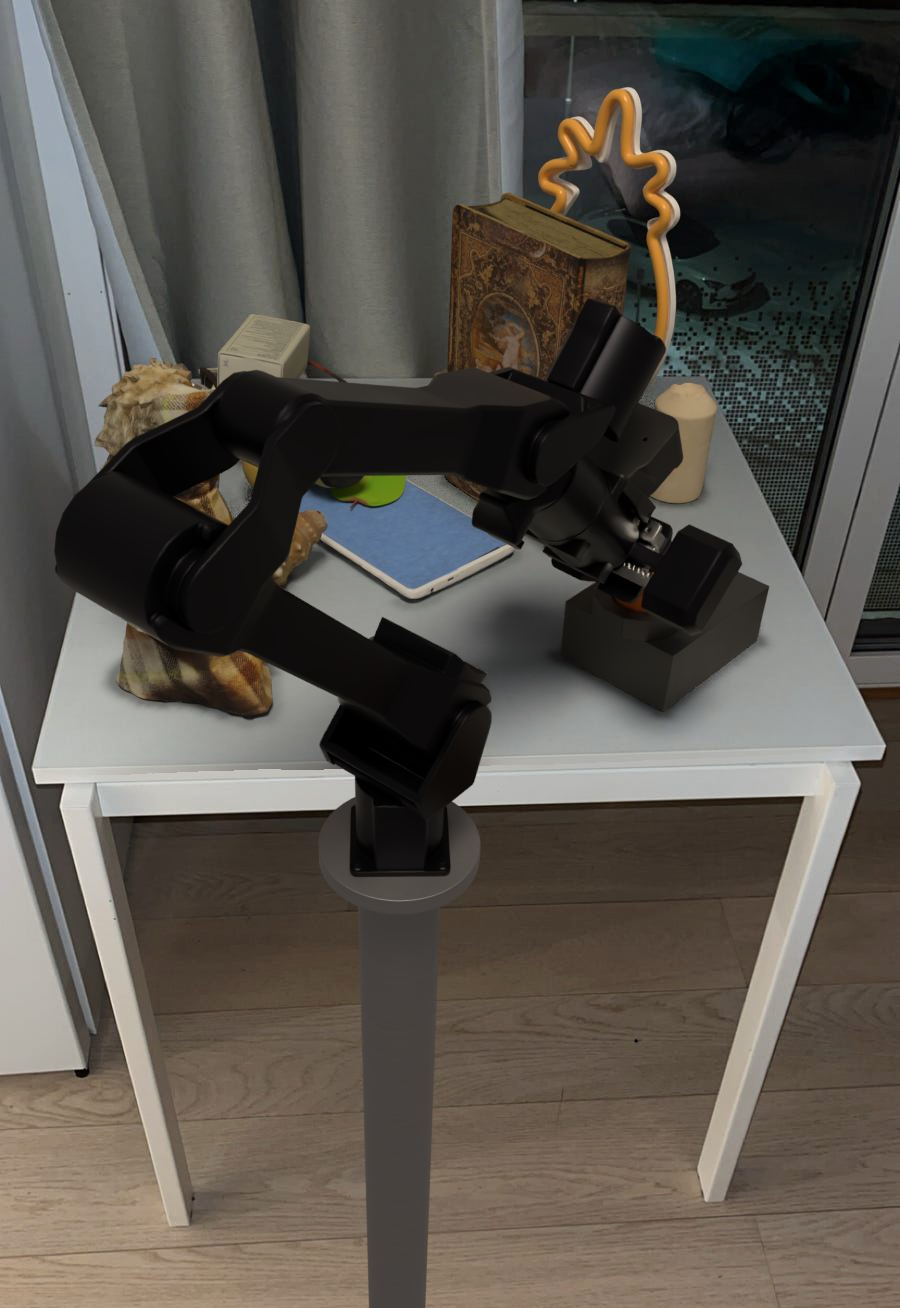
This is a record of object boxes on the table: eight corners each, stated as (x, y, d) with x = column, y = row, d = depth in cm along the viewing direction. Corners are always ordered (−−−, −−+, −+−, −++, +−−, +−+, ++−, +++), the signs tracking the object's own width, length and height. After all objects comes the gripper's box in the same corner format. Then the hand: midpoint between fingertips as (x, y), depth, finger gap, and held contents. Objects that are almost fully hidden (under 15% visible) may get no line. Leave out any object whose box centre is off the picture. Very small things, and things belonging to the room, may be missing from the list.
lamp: (490, 426, 130) (509, 74, 108) (551, 401, 134) (582, 59, 113) (612, 490, 121) (660, 121, 99) (674, 462, 125) (732, 103, 104)
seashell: (250, 577, 114) (299, 481, 109) (296, 634, 110) (349, 537, 105) (163, 566, 107) (211, 463, 102) (209, 626, 103) (262, 522, 98)
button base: (655, 717, 96) (669, 641, 91) (551, 661, 101) (559, 585, 96) (757, 640, 104) (774, 566, 99) (656, 591, 108) (668, 518, 104)
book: (605, 535, 115) (642, 248, 98) (560, 554, 112) (590, 263, 95) (488, 462, 124) (503, 189, 107) (443, 479, 122) (451, 201, 105)
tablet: (518, 553, 112) (520, 540, 111) (411, 606, 105) (411, 592, 104) (374, 470, 122) (374, 457, 121) (268, 513, 116) (267, 500, 115)
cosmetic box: (248, 355, 129) (214, 398, 120) (250, 310, 126) (215, 351, 117) (310, 366, 129) (280, 411, 119) (313, 322, 126) (283, 364, 117)
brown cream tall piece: (84, 737, 91) (112, 397, 76) (66, 633, 100) (88, 314, 86) (278, 738, 96) (339, 421, 81) (243, 640, 106) (292, 340, 91)
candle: (683, 510, 119) (700, 408, 112) (632, 491, 121) (646, 390, 114) (711, 487, 122) (730, 387, 115) (661, 469, 124) (677, 369, 118)
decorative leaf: (423, 495, 115) (423, 504, 116) (396, 444, 121) (396, 453, 121) (339, 508, 113) (340, 517, 114) (316, 455, 119) (316, 464, 120)
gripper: (754, 434, 76) (811, 530, 89) (514, 339, 85) (598, 439, 98) (657, 599, 77) (728, 669, 90) (430, 488, 86) (525, 567, 99)
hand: (643, 579), depth 95 cm, fingers closed, pressing on power button
